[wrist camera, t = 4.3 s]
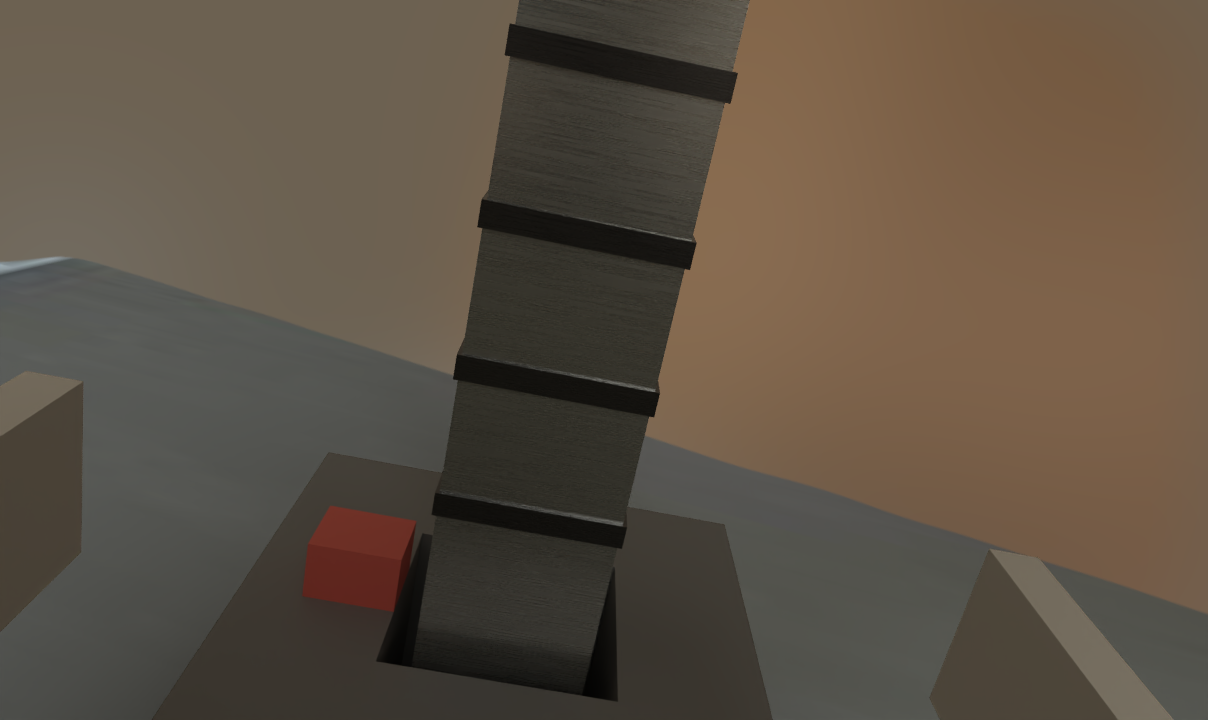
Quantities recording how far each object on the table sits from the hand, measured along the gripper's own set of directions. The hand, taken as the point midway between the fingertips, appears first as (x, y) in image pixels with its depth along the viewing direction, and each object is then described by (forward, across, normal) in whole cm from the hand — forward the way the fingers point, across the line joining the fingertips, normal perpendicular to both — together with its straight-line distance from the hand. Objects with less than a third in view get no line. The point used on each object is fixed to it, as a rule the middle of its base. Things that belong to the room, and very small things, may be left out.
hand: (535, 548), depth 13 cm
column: (+10, 0, -15) cm, 18 cm away
